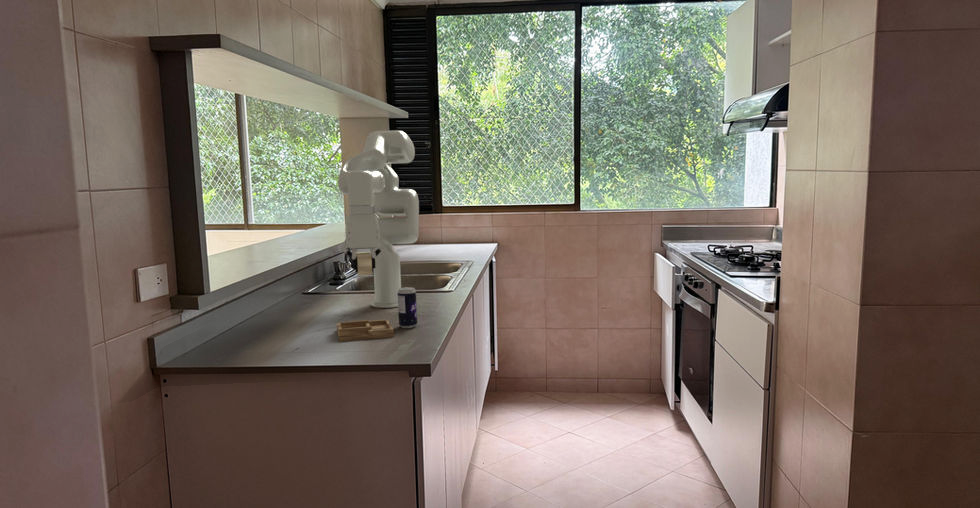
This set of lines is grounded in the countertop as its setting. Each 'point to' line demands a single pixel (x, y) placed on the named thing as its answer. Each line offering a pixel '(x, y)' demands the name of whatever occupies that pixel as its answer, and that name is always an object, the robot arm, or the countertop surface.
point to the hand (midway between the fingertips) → (364, 270)
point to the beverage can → (407, 307)
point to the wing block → (364, 263)
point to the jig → (364, 330)
